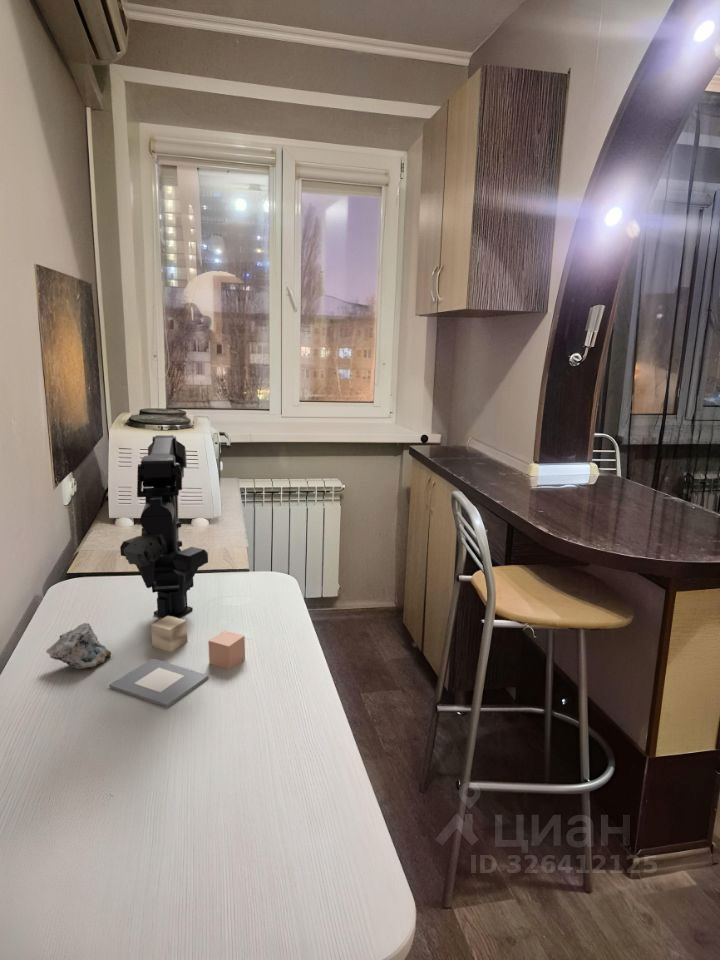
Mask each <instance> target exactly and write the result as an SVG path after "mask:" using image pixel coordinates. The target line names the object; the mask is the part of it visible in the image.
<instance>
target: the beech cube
mask: <svg viewBox="0 0 720 960" xmlns="http://www.w3.org/2000/svg"><path fill="white" fill-rule="evenodd" d="M187 626H188V625H187V620H186V619H182V618H181V617H179V618H176V617H172V616H166V617H162V618H161V619H159V620H157V621H155V622H153V623H151V624H150V631H151V632H150V633H151V643H152V647H153V648H155V649H160V650H164V651H166V652H169V653H172V652H174V651H175V650H176V649H178V648H180V647H182V646H183V645H185V644H186V643H188V629H187V628H188V627H187Z"/></svg>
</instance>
